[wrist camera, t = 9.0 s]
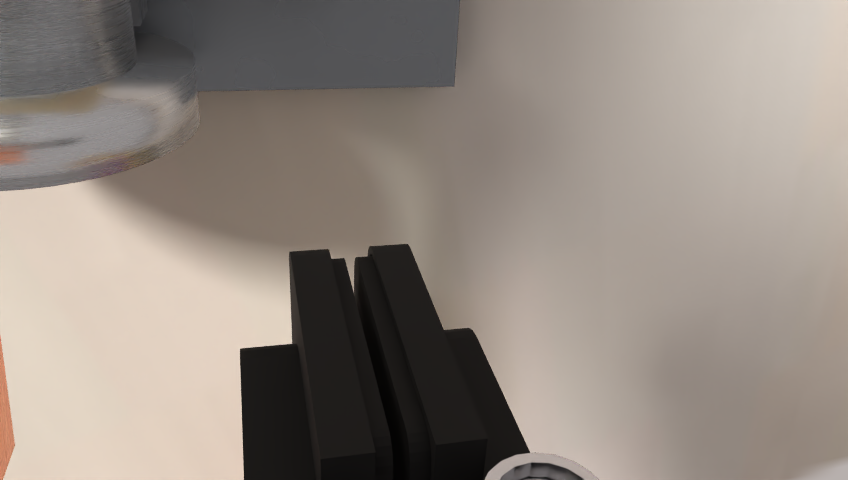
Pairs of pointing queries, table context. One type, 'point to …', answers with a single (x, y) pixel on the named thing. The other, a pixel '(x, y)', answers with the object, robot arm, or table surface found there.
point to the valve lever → (4, 421)
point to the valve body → (187, 69)
